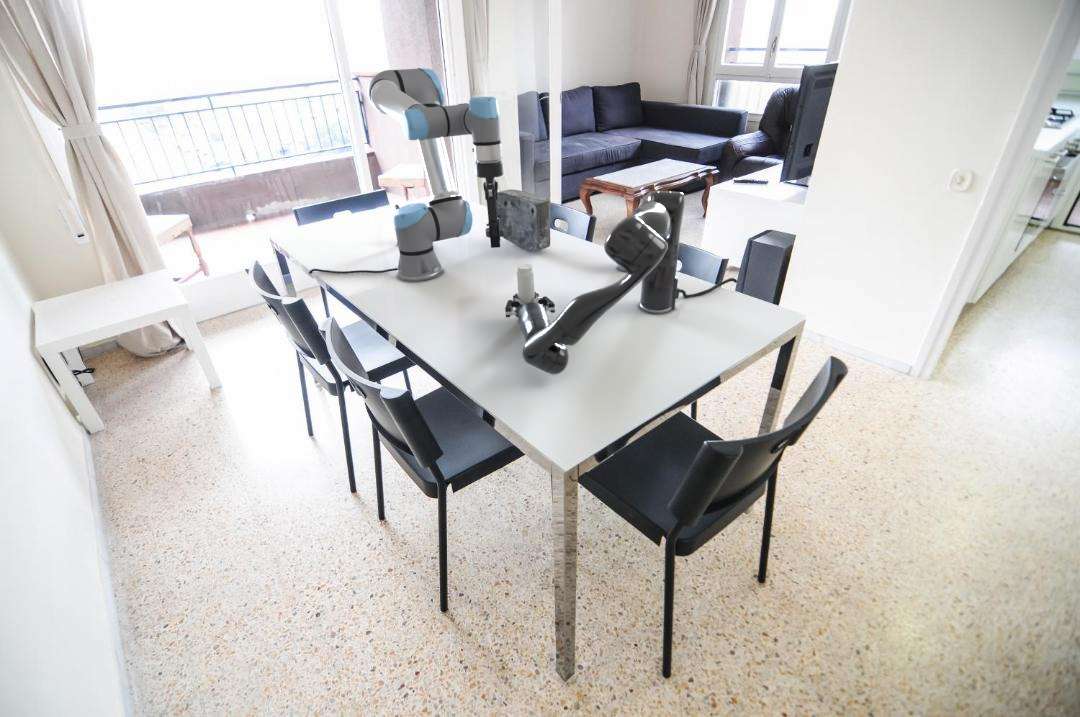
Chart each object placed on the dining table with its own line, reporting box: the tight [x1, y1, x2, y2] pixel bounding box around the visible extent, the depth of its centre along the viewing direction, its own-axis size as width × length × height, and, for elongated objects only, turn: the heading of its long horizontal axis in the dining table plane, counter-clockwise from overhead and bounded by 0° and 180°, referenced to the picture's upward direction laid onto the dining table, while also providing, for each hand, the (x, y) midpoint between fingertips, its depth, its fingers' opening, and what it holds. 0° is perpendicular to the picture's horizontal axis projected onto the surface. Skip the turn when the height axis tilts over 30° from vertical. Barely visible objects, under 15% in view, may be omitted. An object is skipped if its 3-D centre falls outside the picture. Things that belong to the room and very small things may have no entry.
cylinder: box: [516, 263, 535, 303], centre depth 138 cm, size 4×4×17 cm
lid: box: [485, 227, 504, 239], centre depth 145 cm, size 5×5×2 cm
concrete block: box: [497, 188, 551, 252], centre depth 191 cm, size 27×9×20 cm, turn 36°
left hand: (495, 243), depth 147 cm, fingers closed on lid, 5 cm apart
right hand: (525, 295), depth 141 cm, fingers closed on cylinder, 4 cm apart
